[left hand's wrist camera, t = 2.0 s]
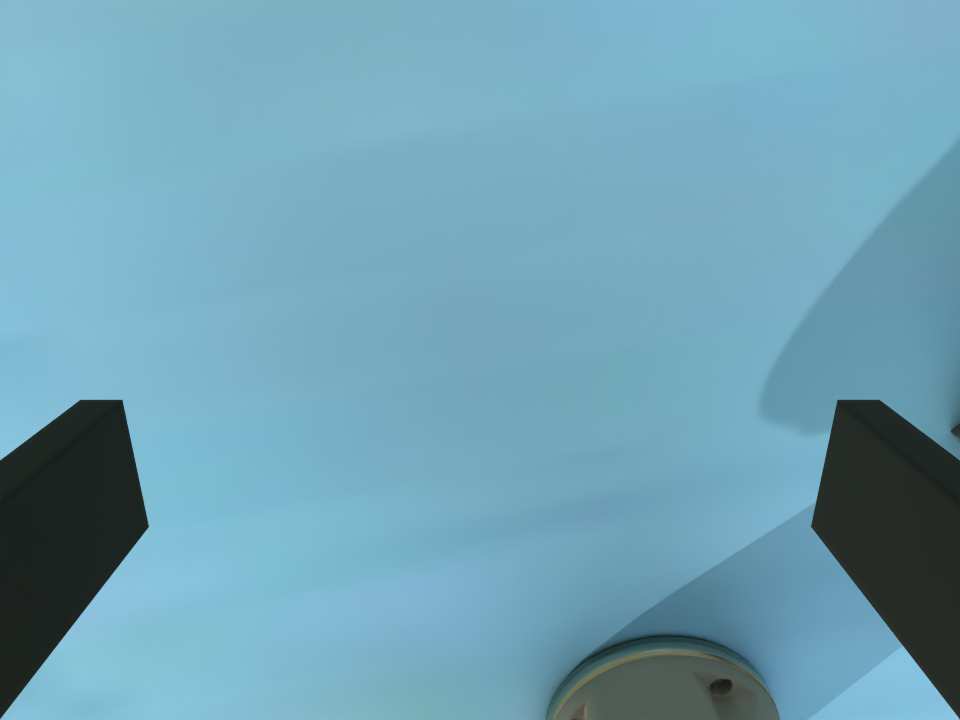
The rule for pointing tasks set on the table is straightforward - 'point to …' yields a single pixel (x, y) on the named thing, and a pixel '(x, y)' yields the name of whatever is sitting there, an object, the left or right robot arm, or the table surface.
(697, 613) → the table surface
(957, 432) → the brown wooden slab
